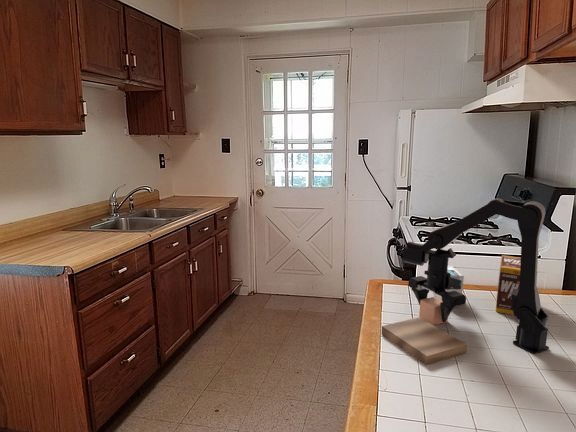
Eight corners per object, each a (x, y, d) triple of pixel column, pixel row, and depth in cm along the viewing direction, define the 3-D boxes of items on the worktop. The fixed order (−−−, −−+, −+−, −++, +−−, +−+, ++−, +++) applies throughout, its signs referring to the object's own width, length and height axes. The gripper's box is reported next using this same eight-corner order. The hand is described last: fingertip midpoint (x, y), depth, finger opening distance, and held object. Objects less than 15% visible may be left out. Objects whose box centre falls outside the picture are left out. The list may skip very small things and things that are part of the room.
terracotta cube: (447, 321, 129) (449, 303, 128) (433, 325, 126) (434, 306, 125) (433, 314, 134) (434, 296, 133) (419, 317, 132) (420, 299, 130)
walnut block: (466, 354, 110) (467, 344, 110) (426, 366, 105) (427, 356, 104) (418, 326, 126) (418, 317, 126) (381, 335, 120) (381, 326, 120)
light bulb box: (461, 305, 140) (464, 275, 138) (441, 305, 141) (444, 275, 138) (450, 293, 151) (453, 265, 149) (431, 293, 151) (434, 265, 149)
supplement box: (495, 312, 136) (500, 266, 133) (496, 296, 149) (501, 254, 146) (531, 318, 131) (538, 272, 128) (529, 301, 144) (535, 258, 141)
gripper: (481, 274, 122) (476, 323, 125) (434, 257, 138) (430, 301, 142) (454, 280, 117) (449, 330, 120) (408, 261, 134) (405, 306, 137)
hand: (433, 316), depth 130 cm, fingers open, 8 cm apart
